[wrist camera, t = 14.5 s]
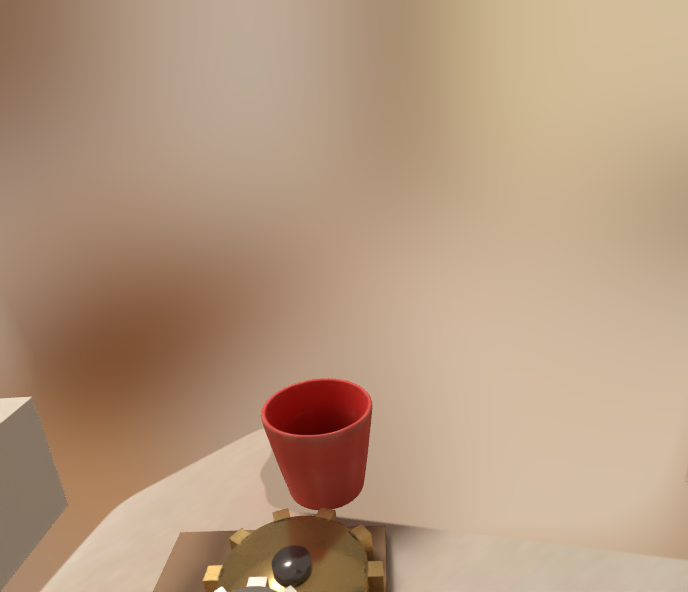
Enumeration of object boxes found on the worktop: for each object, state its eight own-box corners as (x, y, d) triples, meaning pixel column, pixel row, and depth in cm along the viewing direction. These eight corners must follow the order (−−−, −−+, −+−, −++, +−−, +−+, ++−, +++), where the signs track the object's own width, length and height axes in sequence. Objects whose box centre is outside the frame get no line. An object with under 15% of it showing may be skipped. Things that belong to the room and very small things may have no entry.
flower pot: (336, 540, 47) (325, 449, 44) (253, 496, 54) (238, 415, 51) (399, 474, 55) (393, 393, 52) (319, 443, 62) (310, 369, 59)
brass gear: (384, 527, 47) (381, 495, 46) (386, 683, 34) (382, 644, 33) (233, 532, 48) (226, 501, 47) (181, 685, 35) (171, 647, 34)
